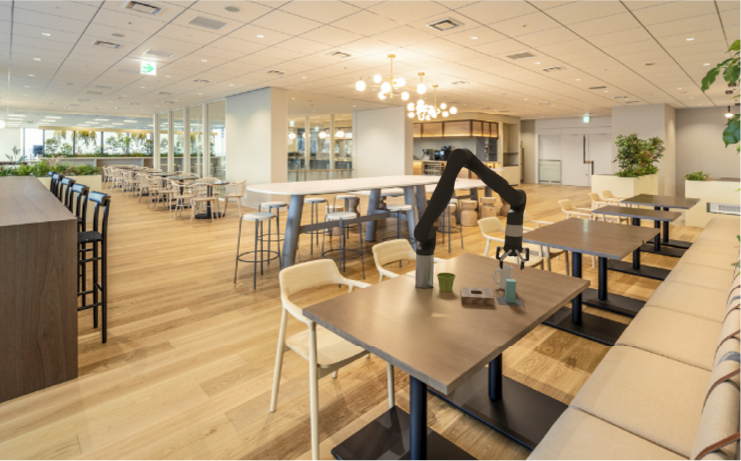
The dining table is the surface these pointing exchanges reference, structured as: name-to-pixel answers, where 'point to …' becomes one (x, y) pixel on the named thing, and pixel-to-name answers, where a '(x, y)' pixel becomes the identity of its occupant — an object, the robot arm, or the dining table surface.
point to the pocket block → (476, 296)
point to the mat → (517, 303)
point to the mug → (503, 275)
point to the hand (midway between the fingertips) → (511, 269)
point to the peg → (510, 290)
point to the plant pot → (446, 281)
